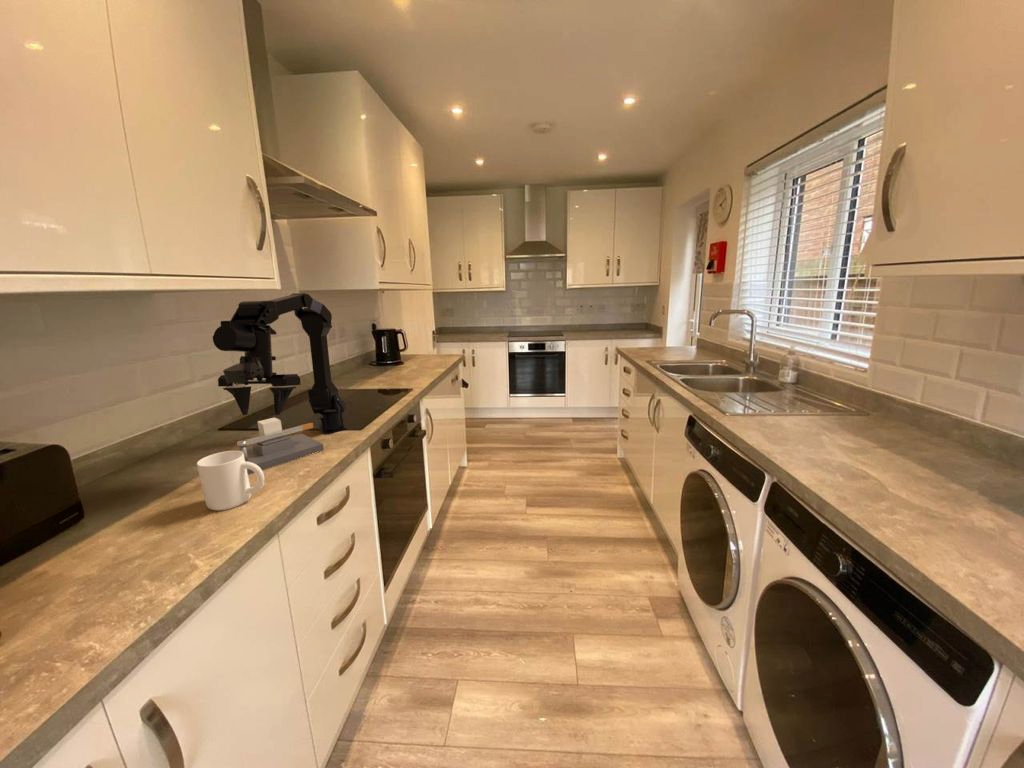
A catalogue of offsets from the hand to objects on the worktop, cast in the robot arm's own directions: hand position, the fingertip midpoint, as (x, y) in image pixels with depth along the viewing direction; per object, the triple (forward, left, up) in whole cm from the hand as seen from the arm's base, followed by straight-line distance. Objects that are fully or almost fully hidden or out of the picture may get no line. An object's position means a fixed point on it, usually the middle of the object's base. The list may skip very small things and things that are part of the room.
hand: (261, 415), depth 101 cm
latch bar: (-5, -7, -9) cm, 13 cm away
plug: (-4, -10, -13) cm, 17 cm away
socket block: (-4, -10, -15) cm, 19 cm away
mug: (+11, +12, -15) cm, 22 cm away
